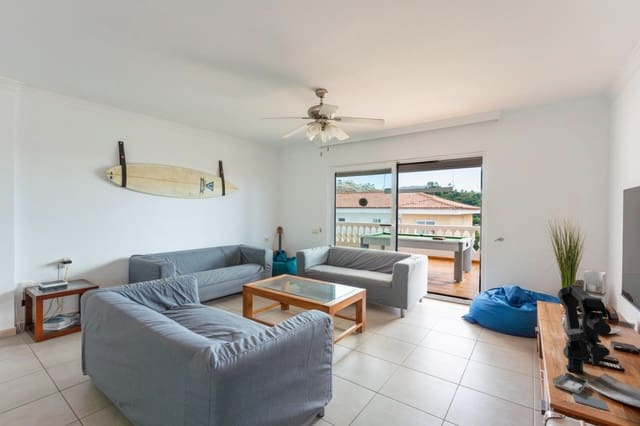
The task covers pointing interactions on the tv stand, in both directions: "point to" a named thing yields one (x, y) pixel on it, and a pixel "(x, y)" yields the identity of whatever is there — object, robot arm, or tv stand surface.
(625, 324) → the tv stand surface
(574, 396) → the mat
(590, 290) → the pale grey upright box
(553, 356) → the tv stand surface
